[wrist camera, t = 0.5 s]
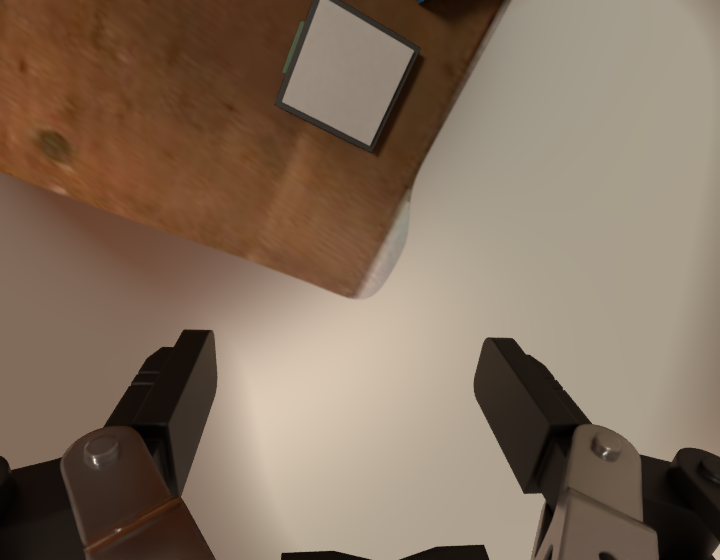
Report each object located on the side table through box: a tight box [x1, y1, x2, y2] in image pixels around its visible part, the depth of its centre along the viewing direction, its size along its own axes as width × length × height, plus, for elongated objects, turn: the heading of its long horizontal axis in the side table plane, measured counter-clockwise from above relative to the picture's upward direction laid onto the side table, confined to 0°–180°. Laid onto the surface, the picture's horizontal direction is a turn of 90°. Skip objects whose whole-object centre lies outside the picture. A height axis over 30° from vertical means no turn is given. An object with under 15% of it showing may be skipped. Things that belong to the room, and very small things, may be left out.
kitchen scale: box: [275, 0, 421, 153], centre depth 33 cm, size 9×9×3 cm
